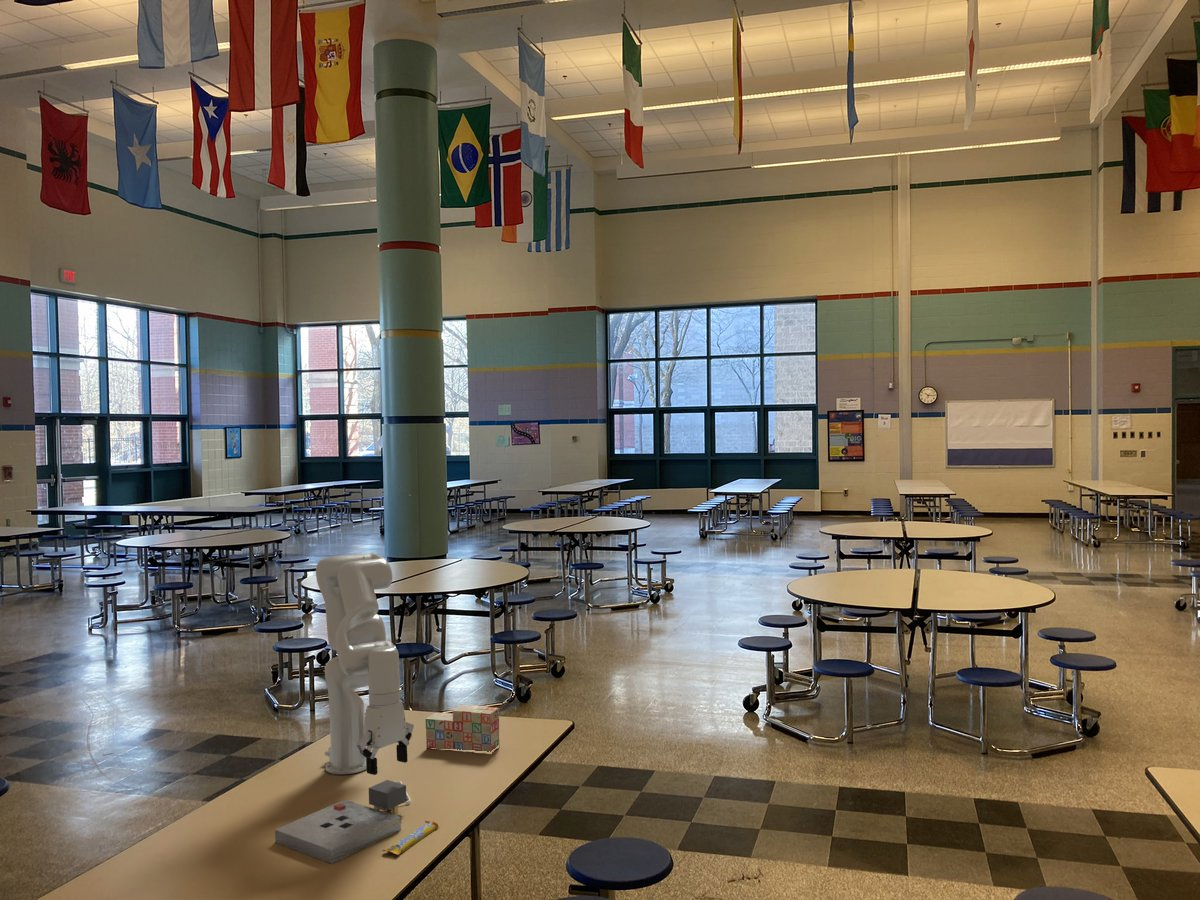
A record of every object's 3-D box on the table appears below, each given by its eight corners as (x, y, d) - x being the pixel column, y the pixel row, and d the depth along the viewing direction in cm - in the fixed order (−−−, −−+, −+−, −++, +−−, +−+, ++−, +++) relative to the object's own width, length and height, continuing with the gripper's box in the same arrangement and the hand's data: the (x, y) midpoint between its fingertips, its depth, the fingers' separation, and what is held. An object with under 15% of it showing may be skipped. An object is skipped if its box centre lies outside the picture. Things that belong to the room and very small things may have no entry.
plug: (362, 812, 221) (361, 785, 221) (381, 803, 226) (380, 777, 226) (388, 820, 215) (387, 793, 215) (406, 811, 220) (406, 785, 220)
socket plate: (275, 842, 205) (274, 827, 205) (345, 811, 222) (344, 797, 222) (331, 863, 194) (331, 847, 194) (401, 829, 210) (400, 814, 210)
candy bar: (426, 826, 213) (426, 818, 213) (441, 828, 211) (440, 821, 211) (381, 856, 198) (381, 848, 197) (396, 859, 196) (396, 851, 196)
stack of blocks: (425, 749, 266) (424, 708, 266) (435, 742, 272) (434, 702, 272) (491, 755, 259) (490, 713, 259) (500, 748, 265) (499, 706, 265)
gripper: (400, 688, 229) (403, 755, 229) (346, 704, 215) (349, 776, 214) (421, 691, 225) (423, 759, 224) (367, 708, 210) (370, 781, 210)
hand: (387, 767), depth 219 cm, fingers open, 9 cm apart
